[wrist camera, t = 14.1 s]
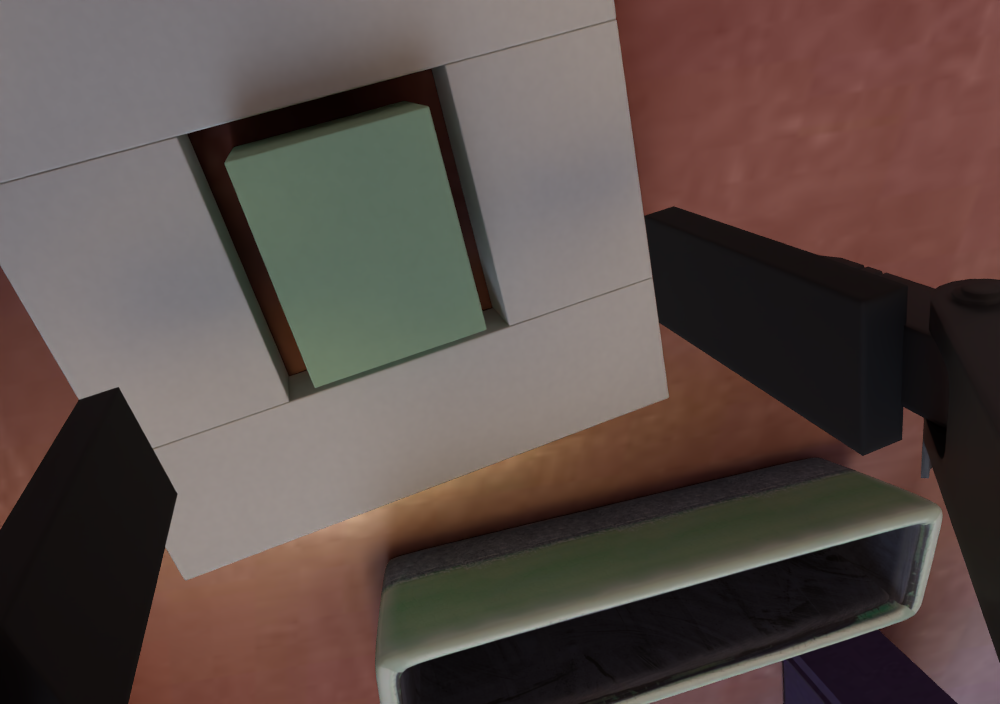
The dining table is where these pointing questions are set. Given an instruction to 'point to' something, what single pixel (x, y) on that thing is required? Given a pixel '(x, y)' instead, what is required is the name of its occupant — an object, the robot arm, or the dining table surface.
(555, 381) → the base pad
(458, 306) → the green block
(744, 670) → the planter
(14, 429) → the dining table surface
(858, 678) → the book
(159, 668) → the dining table surface
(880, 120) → the dining table surface
